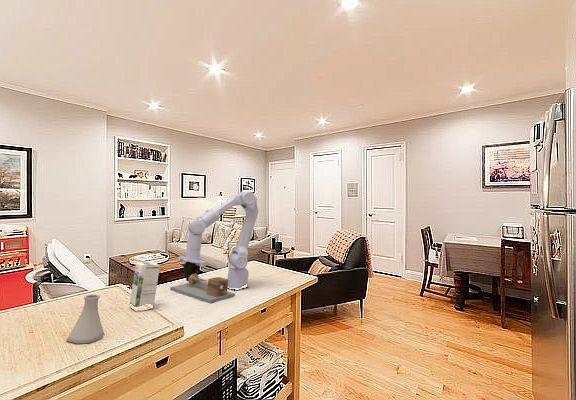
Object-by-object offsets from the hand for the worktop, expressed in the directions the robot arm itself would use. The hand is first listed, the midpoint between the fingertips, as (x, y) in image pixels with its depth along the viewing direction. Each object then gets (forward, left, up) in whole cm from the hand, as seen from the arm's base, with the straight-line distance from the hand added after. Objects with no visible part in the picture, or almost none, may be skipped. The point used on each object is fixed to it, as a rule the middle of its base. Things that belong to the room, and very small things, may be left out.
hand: (189, 280), depth 120 cm
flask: (+48, +19, -3) cm, 52 cm away
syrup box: (+27, +9, -3) cm, 29 cm away
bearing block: (0, +16, -2) cm, 16 cm away
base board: (0, +8, -3) cm, 9 cm away
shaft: (0, +10, -1) cm, 10 cm away
